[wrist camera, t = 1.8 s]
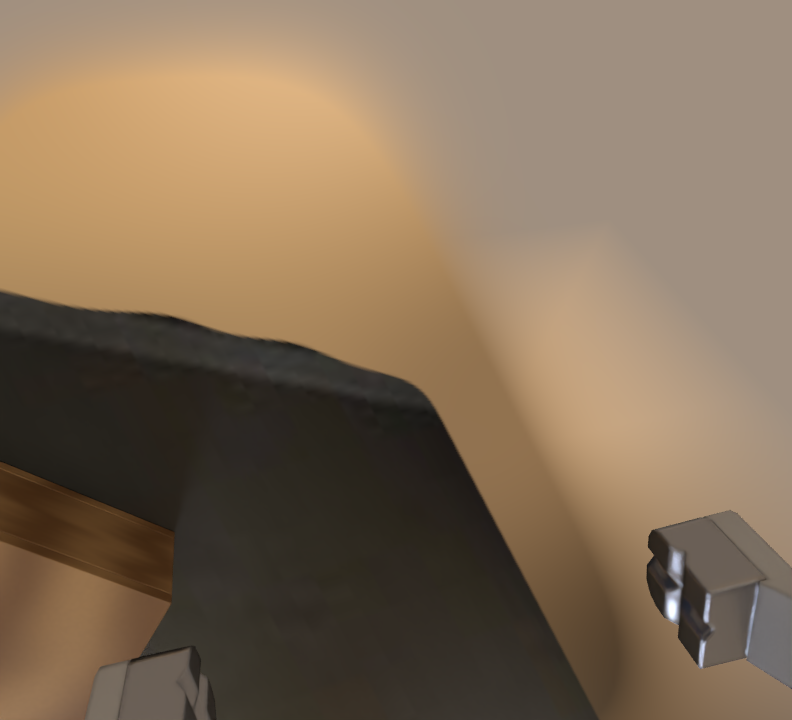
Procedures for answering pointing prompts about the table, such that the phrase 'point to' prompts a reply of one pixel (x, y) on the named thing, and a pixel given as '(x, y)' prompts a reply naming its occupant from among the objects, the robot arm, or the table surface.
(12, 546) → the cabinet
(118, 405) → the table surface
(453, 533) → the table surface
